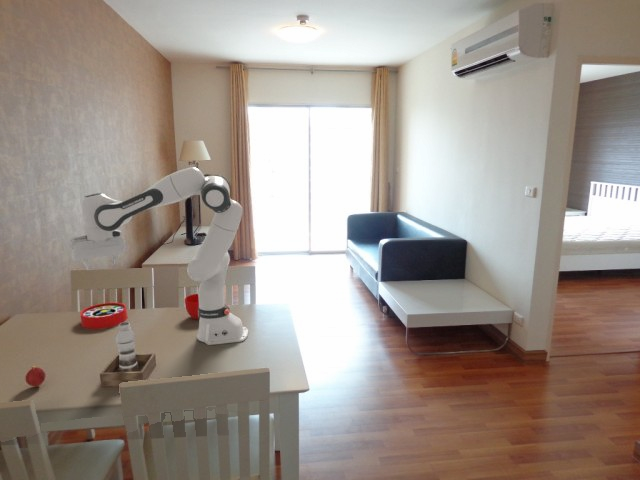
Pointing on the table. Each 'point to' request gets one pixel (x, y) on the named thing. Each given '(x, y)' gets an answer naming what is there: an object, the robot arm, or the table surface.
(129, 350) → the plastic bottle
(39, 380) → the red pomegranate
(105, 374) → the box
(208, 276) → the robot arm
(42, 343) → the table surface
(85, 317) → the toy clock
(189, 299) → the ceramic cup
